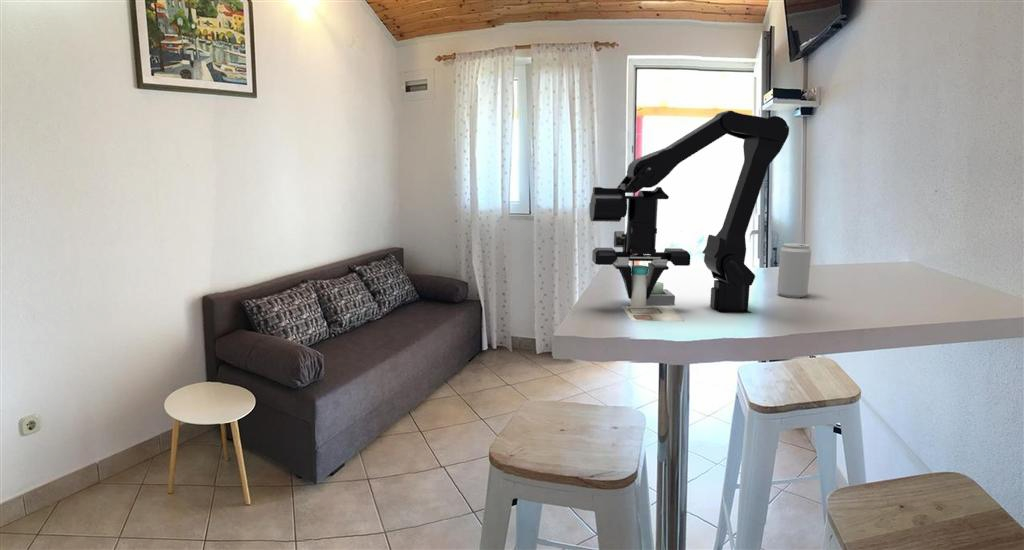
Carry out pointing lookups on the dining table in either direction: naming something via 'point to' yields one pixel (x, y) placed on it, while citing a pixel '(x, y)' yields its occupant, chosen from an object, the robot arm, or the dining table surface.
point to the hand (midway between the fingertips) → (638, 298)
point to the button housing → (661, 298)
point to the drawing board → (652, 314)
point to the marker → (639, 286)
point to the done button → (658, 288)
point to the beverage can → (794, 270)
